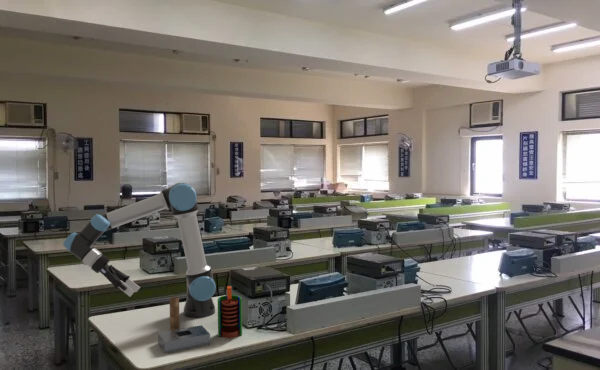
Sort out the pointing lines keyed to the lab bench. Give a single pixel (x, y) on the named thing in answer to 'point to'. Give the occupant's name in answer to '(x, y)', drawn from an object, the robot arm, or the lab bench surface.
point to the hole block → (183, 339)
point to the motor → (229, 315)
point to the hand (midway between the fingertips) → (135, 292)
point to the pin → (174, 313)
